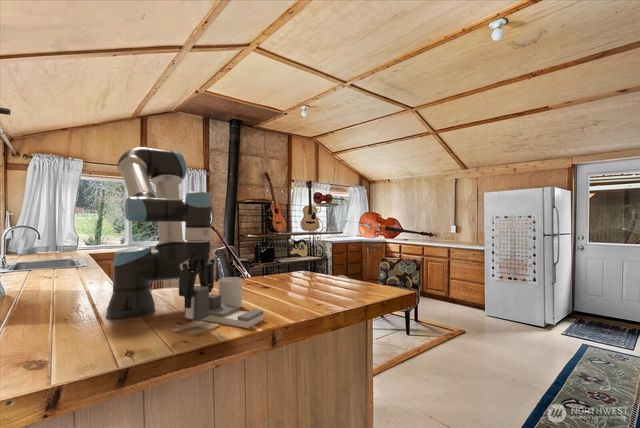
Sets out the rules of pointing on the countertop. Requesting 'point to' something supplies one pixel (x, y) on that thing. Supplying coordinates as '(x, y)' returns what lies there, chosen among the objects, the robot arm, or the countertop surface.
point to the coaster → (195, 328)
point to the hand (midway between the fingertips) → (196, 315)
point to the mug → (230, 291)
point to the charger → (200, 303)
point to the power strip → (231, 314)
